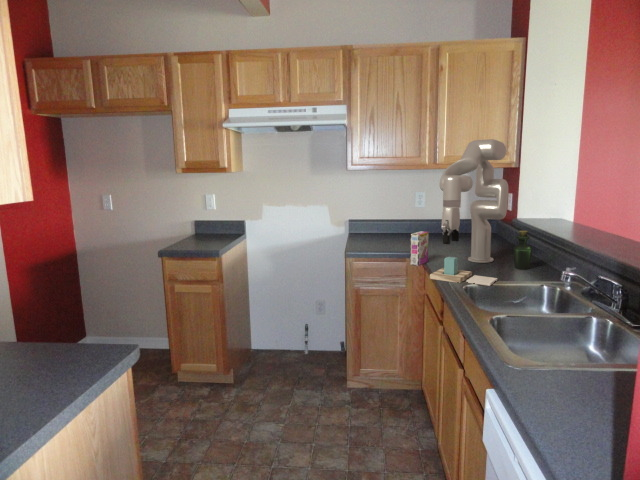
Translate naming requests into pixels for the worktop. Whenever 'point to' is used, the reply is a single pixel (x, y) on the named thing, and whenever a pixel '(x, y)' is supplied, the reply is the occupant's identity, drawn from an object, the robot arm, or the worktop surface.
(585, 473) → the worktop surface
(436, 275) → the pocket base
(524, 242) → the potion bottle
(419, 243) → the candy bar box
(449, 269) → the teal block
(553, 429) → the worktop surface
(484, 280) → the tile
